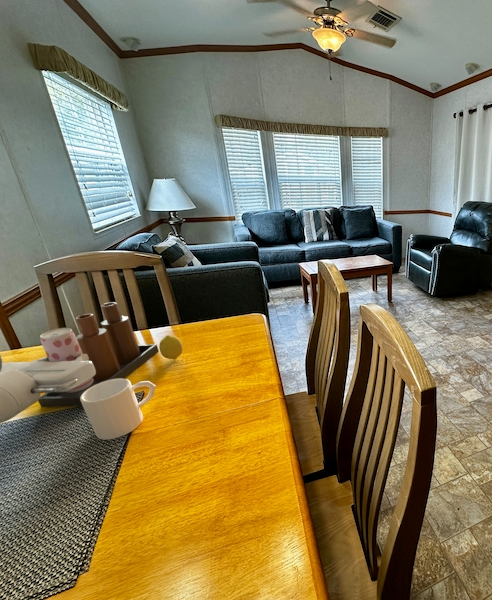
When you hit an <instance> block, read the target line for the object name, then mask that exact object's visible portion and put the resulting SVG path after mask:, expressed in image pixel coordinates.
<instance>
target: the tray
mask: <svg viewBox="0 0 492 600" xmlns="http://www.w3.org/2000/svg"><path fill="white" fill-rule="evenodd" d="M138 347H139V350H140V353H141V355H140V356H138V357H137V358H136V359H134V360H133V361H132V362H129V363H125V364H119V365H120V367H121V370H120V371H119V372H117V373H116V374H115V375H113V376H112V377H111V378H109V379H106V380H100V381H96V380H94V381H93V383H92V384H91V385H90V386H89V387H87V388H85V389H83V390H80V391H77V392H70V393H69V392H55V393H43V394H41V395H40V398H39V400H38V401H37V402H38V403H39V405H40V407H41V408H65V407H67V408H69V407H83V405H82V403H81V401H80V397H81V395H82V394H83V393H84V392H85V391H86V390H87V389H89V388H90V387H92V386H94V385H96V384H99V383H101V382H104V381H107V380H112V379H120V378H122V379H127V377H130V375H131V374H132V373H134V372H135V371H136V370H138V369H139V368H140V367H142V366H143V364H145V363H146V362H147V361H149V360H150V359H151V358H153V357H154V356H155V355H156V354H158V352H160V349H159V348H158V345H157V344H156V343H155V344H153V343H152V344H138Z"/></svg>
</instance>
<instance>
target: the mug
mask: <svg viewBox="0 0 492 600" xmlns="http://www.w3.org/2000/svg"><path fill="white" fill-rule="evenodd" d="M142 387H147V388H148V390H149V391H148V394H147V395H146V396H145V397H144V398H143V399H142V400H140V401H139V402H138V399H137V396H136V394H135V390H136V389H138V388H142ZM156 387H157V385H156V384H154V383H153V382H151V381H149V380H142V381H138V382H136V383H134V384H133V385H132V383H131V380H129V379H127V378H125V379H122V378H120V379H112V380H107V381H104V382H101V383H99V384H96V385H94V386H92V387H90V388H89V389H87V390H86V391H85V392H84V393H83V394H82V395H81V397H80V401H81V403H82V405H83V406H82V408H83V410H84V412H85V414H86V416H87V418H88V421H89V423H90V426H91V428H92V429H93V432H94V434H95V436H96V437H97V438H98V439H99V440H104V441H106V440H108V441H109V440H113V439H118V438H120V437H123V436H126V435H127V434H129V433H131V432H133V431H135V429H137V428H138V427H139V426H140V425H141V424H142V422H143V420H144V416H143V413H142V410H141V407H142V406H144V405H146V404H147V403H148V402H149V401H151V400H152V399H153V397H154V394H155V391H156Z"/></svg>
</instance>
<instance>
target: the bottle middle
mask: <svg viewBox="0 0 492 600" xmlns="http://www.w3.org/2000/svg"><path fill="white" fill-rule="evenodd" d="M75 320H76V323H77V325H78V326H79V327H78V328H79V330H80V333H78V334H77V335H75V337H76V339H77V341H78V344H79V346H80V348H81V351H82V353H83V354H87V355H88V358H89V359H88V361H91V362H92V363H93V365H94V367H95V371H96V374H95V375H94V376H93V379H94V380H96V381H100V380H106V379H109V378H111V377H112V376H113V375H115V374H116V373H117V372H119V371H120V370H121V367H120V365H119V362H118V359H117V357H116V354H115V352H114V349H113V346H112V344H111V341H110V338H109V336H108V333H107V330H106V329H103V328H102V327H101V328H99V326H98V324H97V322H96V319H95V317H94V314H93V313H85V314H81V315H77V316H76V317H75Z"/></svg>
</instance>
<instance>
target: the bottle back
mask: <svg viewBox="0 0 492 600" xmlns="http://www.w3.org/2000/svg"><path fill="white" fill-rule="evenodd" d="M101 309H102V311H103V314H104V317H105V320H102V321H101V322H100V325H101V329H106V330H107V333H108V336H109V338H110V341H111V344H112V346H113V349H114V352H115V354H116V357H117V359H118V362H119V364H125V363H129V362H132V361H133V360H134V359H136V358H137V357H138V356H140V355H141V353H140V350H139V347H138V345H139V344H138V342H137V339H136V335H135V333H134V330H133V327H132V324H131V321H130V318H129V317H128V316H127V315H122V314H121V312H120V309H119V305H118V303H117V302H116V301H109V302H106V303H103V304H101Z"/></svg>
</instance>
